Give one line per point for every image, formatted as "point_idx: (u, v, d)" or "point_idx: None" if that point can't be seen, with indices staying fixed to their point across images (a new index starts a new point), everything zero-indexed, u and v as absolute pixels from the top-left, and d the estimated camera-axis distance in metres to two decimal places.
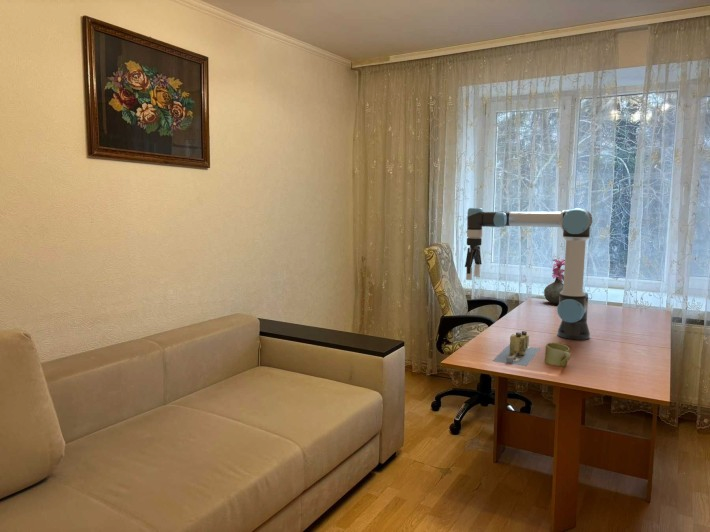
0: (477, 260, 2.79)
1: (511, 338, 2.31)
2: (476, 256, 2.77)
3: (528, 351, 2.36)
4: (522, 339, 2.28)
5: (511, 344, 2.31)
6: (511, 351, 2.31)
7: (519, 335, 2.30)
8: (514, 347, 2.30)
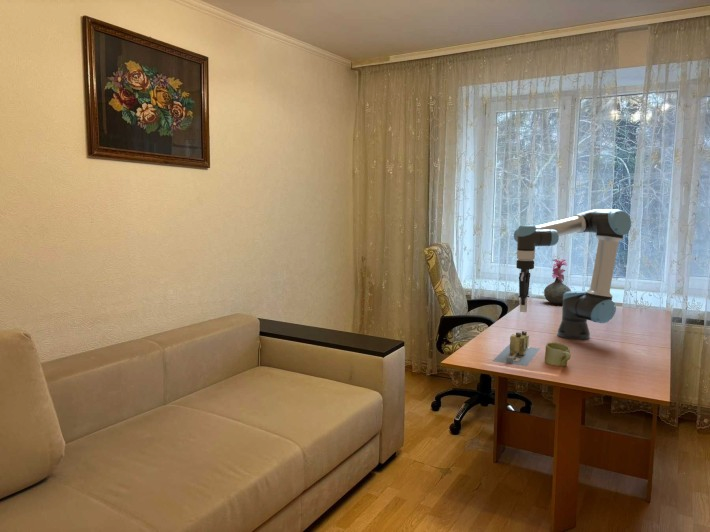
0: None
1: (511, 338, 2.31)
2: None
3: (528, 351, 2.36)
4: (522, 339, 2.28)
5: (511, 344, 2.31)
6: (511, 351, 2.31)
7: (519, 335, 2.30)
8: (514, 347, 2.30)
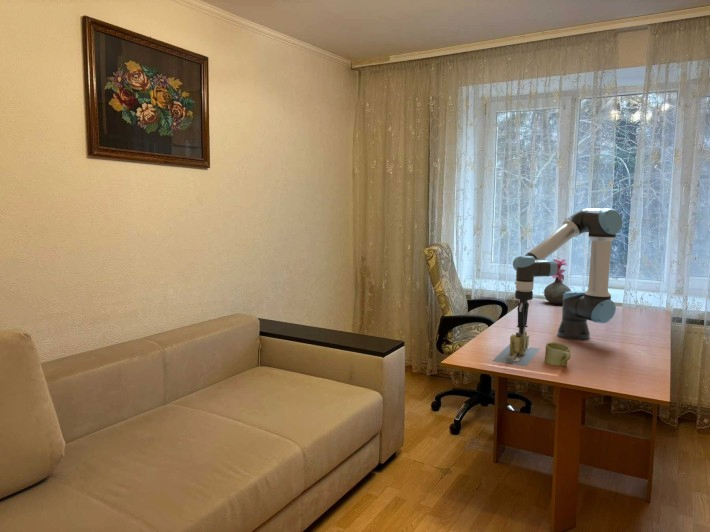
0: None
1: (511, 338, 2.31)
2: (524, 313, 2.37)
3: (528, 351, 2.36)
4: (522, 339, 2.28)
5: (511, 344, 2.31)
6: (511, 351, 2.31)
7: (519, 335, 2.30)
8: (514, 347, 2.30)
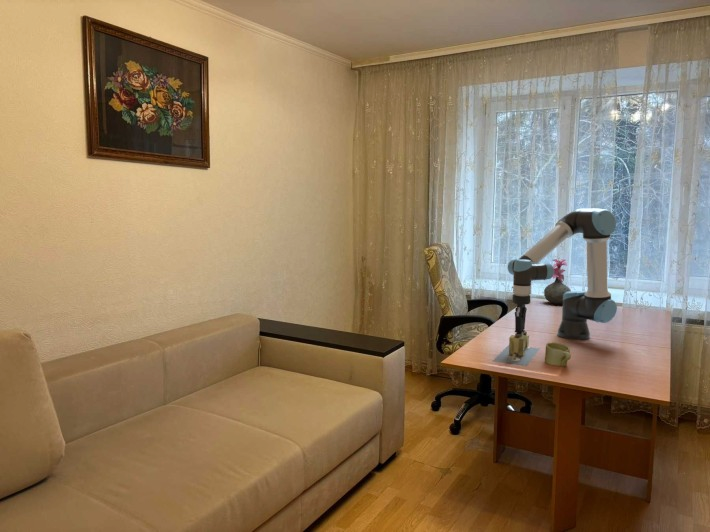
0: None
1: (510, 339, 2.29)
2: None
3: (528, 351, 2.36)
4: (521, 340, 2.27)
5: (510, 345, 2.30)
6: (510, 352, 2.30)
7: (518, 336, 2.29)
8: (513, 348, 2.29)
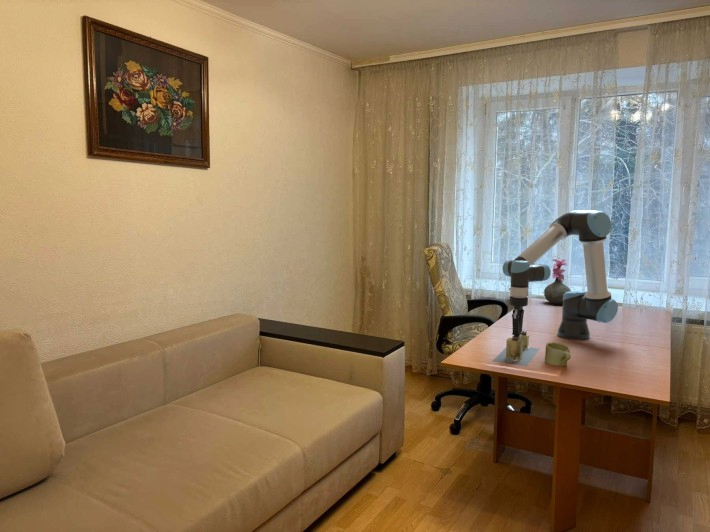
0: None
1: (507, 342, 2.25)
2: (519, 320, 2.29)
3: (528, 351, 2.36)
4: (519, 343, 2.22)
5: (507, 348, 2.25)
6: (507, 355, 2.25)
7: (515, 338, 2.24)
8: (510, 351, 2.25)
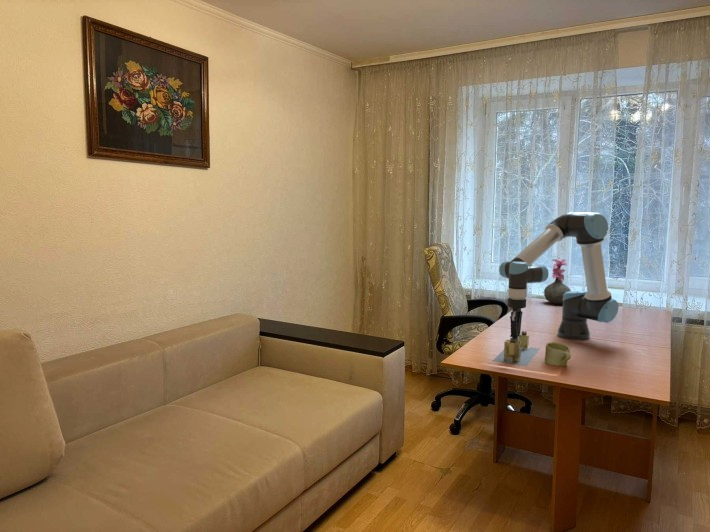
0: (517, 329, 2.26)
1: (505, 344, 2.21)
2: None
3: (528, 351, 2.36)
4: (517, 345, 2.19)
5: (505, 350, 2.22)
6: (505, 357, 2.22)
7: (513, 340, 2.21)
8: (508, 353, 2.21)
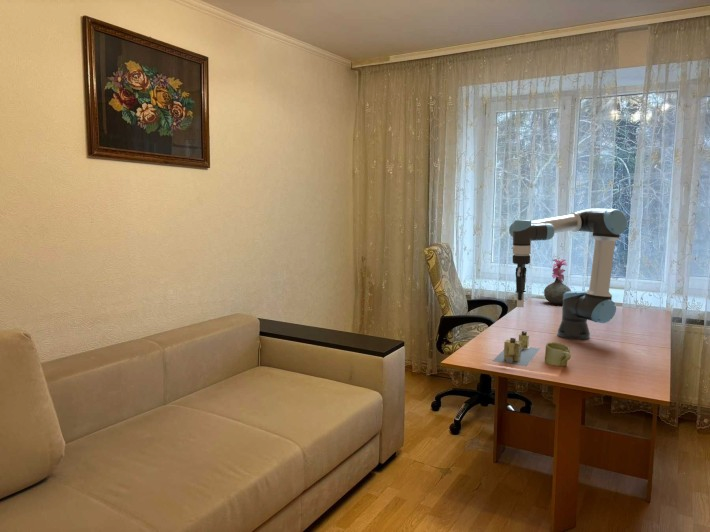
0: (522, 285, 2.35)
1: (505, 344, 2.21)
2: (522, 278, 2.34)
3: (528, 351, 2.36)
4: (517, 345, 2.19)
5: (505, 350, 2.22)
6: (505, 357, 2.22)
7: (513, 340, 2.21)
8: (508, 353, 2.21)
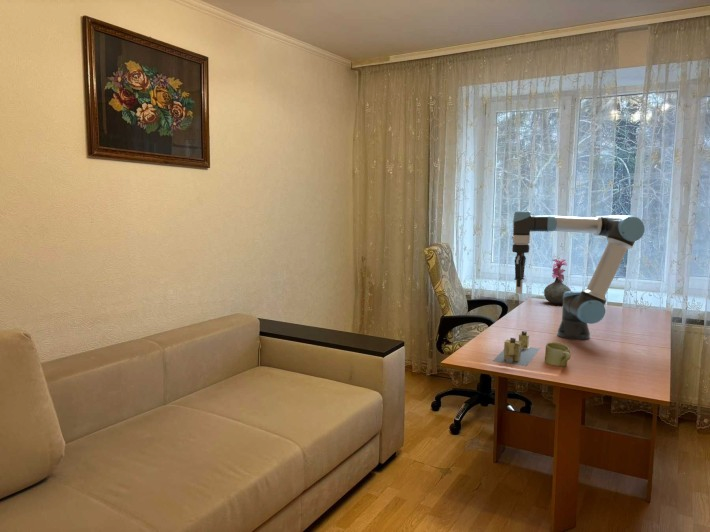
0: None
1: (505, 344, 2.21)
2: (521, 266, 2.49)
3: (528, 351, 2.36)
4: (517, 345, 2.19)
5: (505, 350, 2.22)
6: (505, 357, 2.22)
7: (513, 340, 2.21)
8: (508, 353, 2.21)
